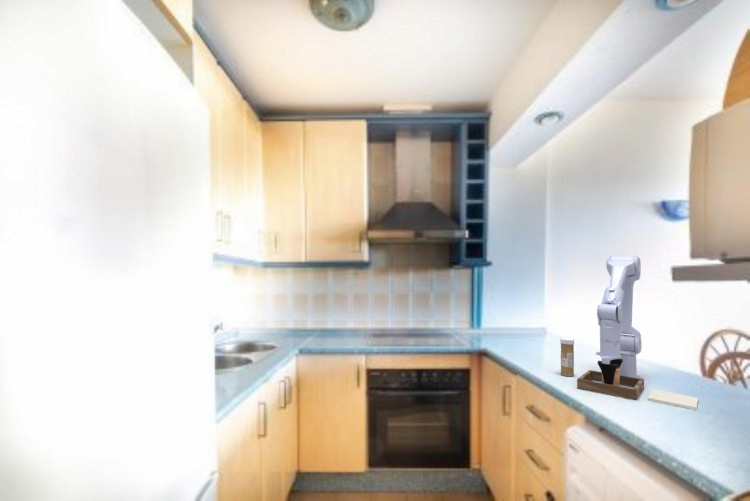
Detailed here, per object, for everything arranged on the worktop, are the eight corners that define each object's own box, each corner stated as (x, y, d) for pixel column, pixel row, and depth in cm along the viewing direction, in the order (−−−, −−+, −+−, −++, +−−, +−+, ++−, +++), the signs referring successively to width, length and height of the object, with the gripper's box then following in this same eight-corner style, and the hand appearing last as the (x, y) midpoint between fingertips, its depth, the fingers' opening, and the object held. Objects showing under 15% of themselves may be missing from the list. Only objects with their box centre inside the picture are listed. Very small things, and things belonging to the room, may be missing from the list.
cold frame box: (589, 378, 134) (589, 370, 135) (644, 388, 124) (644, 379, 124) (577, 388, 123) (577, 379, 123) (636, 400, 112) (636, 390, 112)
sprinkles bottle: (557, 373, 140) (557, 337, 141) (569, 373, 141) (569, 337, 142) (565, 377, 136) (564, 339, 137) (577, 376, 136) (576, 339, 137)
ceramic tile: (652, 392, 120) (652, 389, 120) (698, 400, 113) (697, 397, 113) (647, 400, 112) (647, 397, 112) (696, 410, 105) (696, 407, 105)
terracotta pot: (602, 384, 127) (602, 363, 127) (622, 388, 123) (622, 366, 124) (599, 388, 123) (598, 366, 123) (619, 392, 119) (618, 370, 120)
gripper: (601, 336, 132) (601, 375, 131) (590, 341, 121) (591, 384, 121) (625, 339, 127) (625, 379, 127) (616, 344, 117) (617, 389, 116)
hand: (610, 382), depth 123 cm, fingers closed on terracotta pot, 5 cm apart
